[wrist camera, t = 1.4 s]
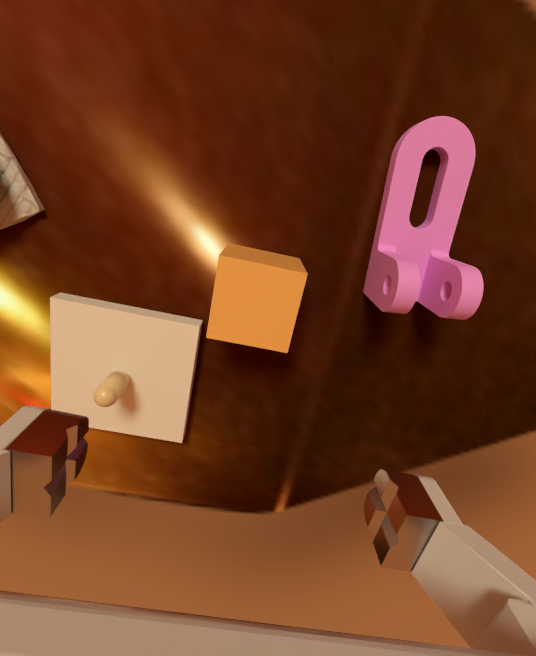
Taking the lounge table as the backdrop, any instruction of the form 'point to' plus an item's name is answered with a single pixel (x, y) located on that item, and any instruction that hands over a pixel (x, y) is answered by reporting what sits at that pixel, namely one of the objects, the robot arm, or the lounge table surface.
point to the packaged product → (15, 190)
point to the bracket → (424, 227)
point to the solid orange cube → (256, 298)
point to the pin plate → (123, 366)
